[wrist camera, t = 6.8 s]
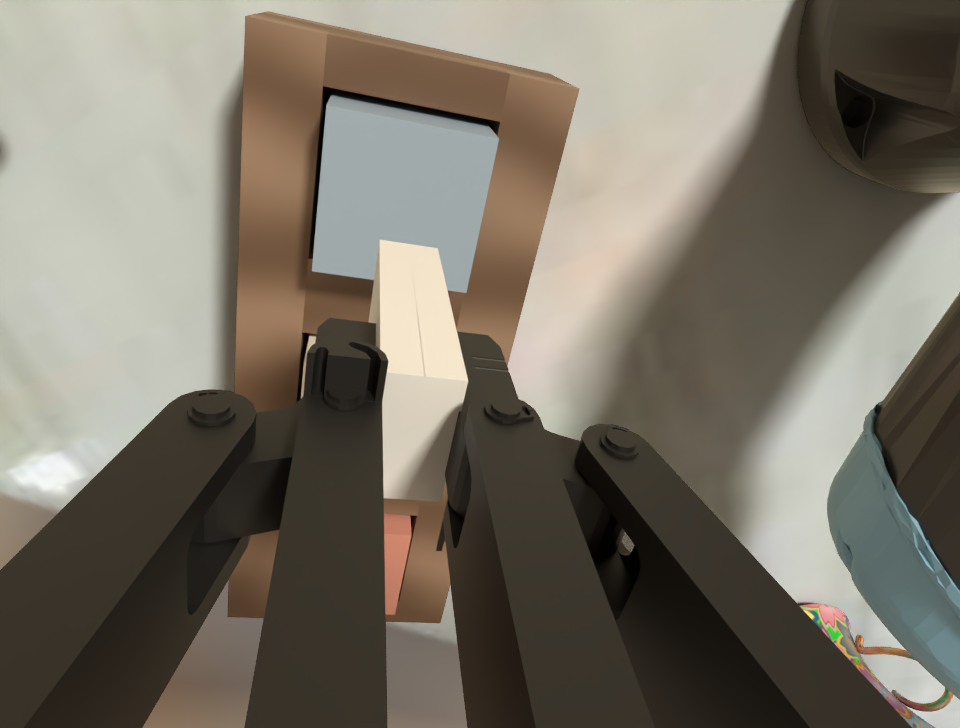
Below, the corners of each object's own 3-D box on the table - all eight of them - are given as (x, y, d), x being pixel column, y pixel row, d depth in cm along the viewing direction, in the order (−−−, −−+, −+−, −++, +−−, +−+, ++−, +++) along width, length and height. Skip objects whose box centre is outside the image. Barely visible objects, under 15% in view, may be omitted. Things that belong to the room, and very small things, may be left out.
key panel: (268, 11, 26) (245, 16, 22) (549, 74, 29) (579, 89, 24) (244, 549, 40) (227, 616, 36) (434, 559, 43) (440, 623, 38)
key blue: (334, 89, 25) (326, 105, 22) (483, 119, 26) (499, 139, 23) (320, 236, 28) (311, 271, 24) (456, 257, 29) (466, 292, 26)
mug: (769, 682, 55) (845, 819, 46) (713, 638, 51) (785, 779, 42) (894, 607, 52) (1003, 738, 43) (846, 554, 48) (955, 687, 39)
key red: (299, 475, 35) (290, 528, 32) (408, 484, 36) (411, 535, 33) (292, 555, 38) (283, 611, 35) (393, 560, 39) (395, 614, 36)
